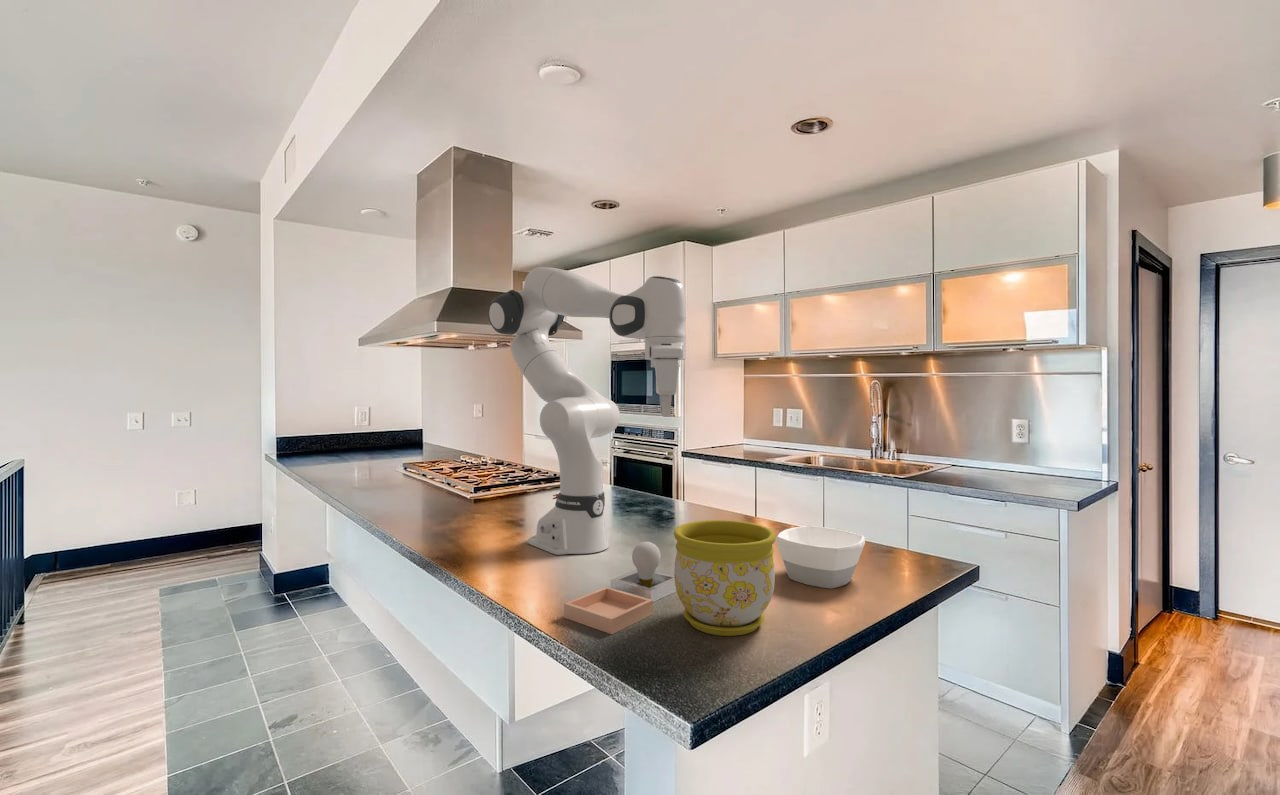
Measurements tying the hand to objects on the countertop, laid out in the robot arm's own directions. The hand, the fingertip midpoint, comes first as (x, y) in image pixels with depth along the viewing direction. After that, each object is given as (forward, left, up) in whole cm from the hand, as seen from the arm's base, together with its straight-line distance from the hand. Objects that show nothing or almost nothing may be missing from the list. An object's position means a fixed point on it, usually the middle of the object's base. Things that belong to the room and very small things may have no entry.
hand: (665, 415), depth 131 cm
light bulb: (+1, -8, -36) cm, 37 cm away
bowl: (+26, +22, -36) cm, 50 cm away
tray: (+4, -23, -36) cm, 43 cm away
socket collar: (+1, -8, -36) cm, 37 cm away
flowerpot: (+22, -12, -36) cm, 44 cm away
